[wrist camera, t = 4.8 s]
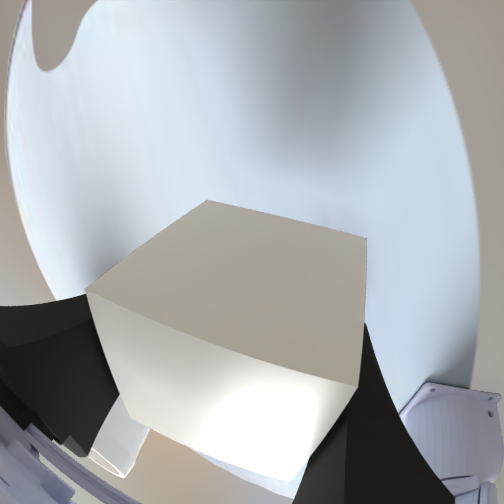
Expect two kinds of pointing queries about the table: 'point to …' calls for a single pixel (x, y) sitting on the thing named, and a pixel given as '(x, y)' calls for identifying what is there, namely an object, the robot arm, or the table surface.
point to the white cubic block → (237, 333)
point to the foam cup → (118, 441)
